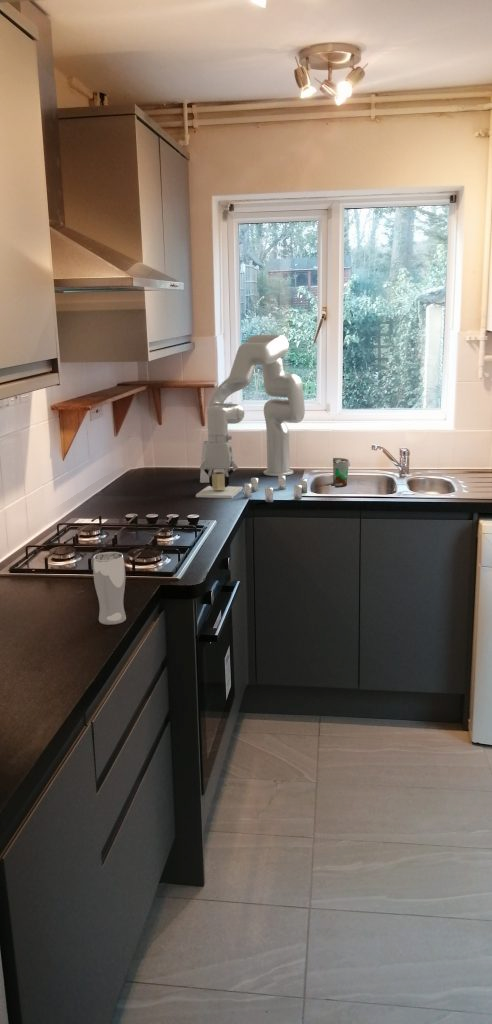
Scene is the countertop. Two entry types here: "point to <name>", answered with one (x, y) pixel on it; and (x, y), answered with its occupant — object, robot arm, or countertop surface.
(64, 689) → the countertop surface
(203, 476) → the grater
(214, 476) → the faceted candle holder
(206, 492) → the mat
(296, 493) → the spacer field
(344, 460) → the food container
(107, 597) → the beer glass
